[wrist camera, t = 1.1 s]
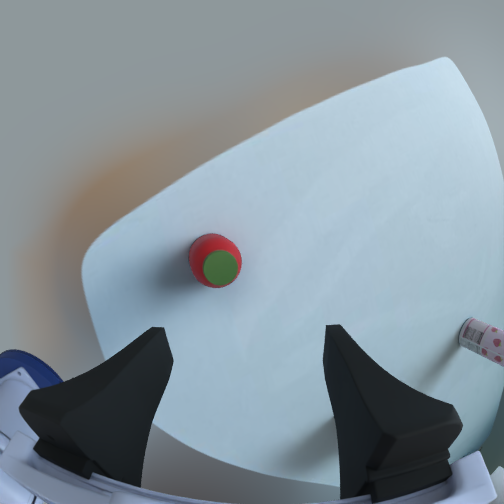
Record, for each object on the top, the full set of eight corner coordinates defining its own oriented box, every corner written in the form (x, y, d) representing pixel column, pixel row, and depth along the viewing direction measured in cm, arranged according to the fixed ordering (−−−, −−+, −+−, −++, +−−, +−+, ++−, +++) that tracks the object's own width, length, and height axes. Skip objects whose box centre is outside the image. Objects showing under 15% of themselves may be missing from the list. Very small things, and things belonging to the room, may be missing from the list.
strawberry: (202, 287, 26) (209, 305, 21) (180, 247, 25) (181, 257, 20) (242, 265, 26) (257, 279, 22) (221, 225, 25) (233, 229, 20)
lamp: (432, 491, 65) (481, 535, 26) (450, 465, 61) (509, 512, 22) (461, 466, 70) (509, 504, 32) (479, 438, 66) (535, 476, 28)
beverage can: (471, 335, 41) (526, 360, 27) (456, 350, 40) (513, 379, 26) (474, 311, 40) (533, 335, 26) (459, 326, 39) (521, 353, 25)
